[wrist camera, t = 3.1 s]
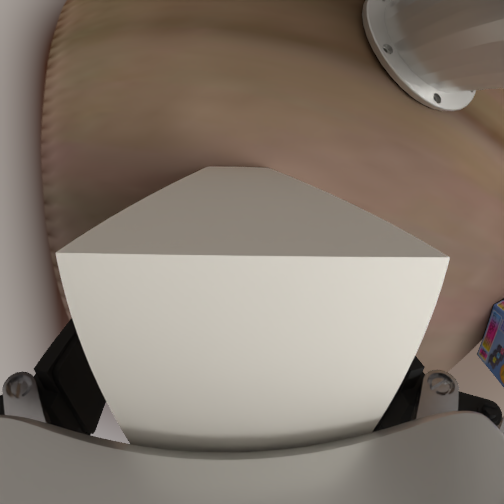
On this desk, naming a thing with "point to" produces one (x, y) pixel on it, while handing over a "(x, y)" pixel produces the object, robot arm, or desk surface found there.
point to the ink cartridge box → (494, 343)
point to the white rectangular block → (248, 312)
